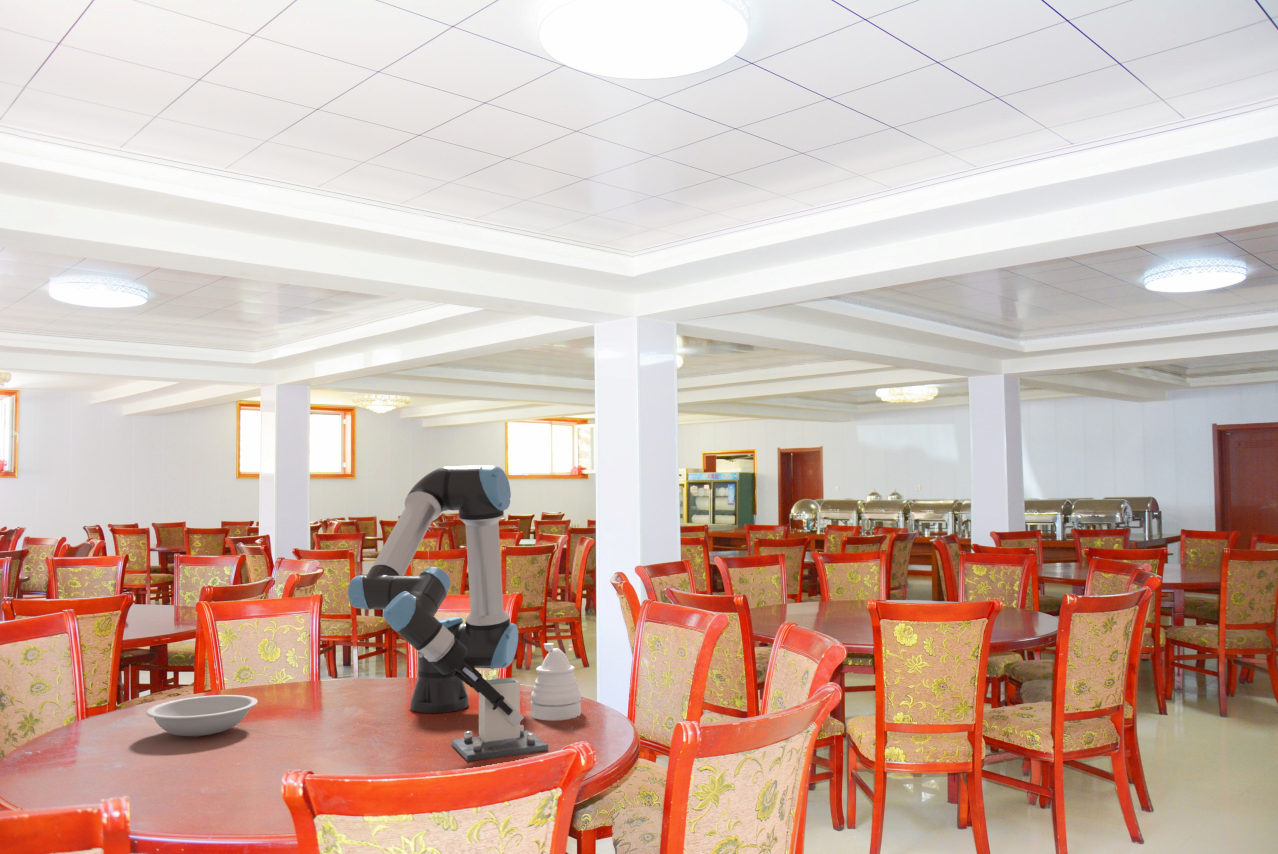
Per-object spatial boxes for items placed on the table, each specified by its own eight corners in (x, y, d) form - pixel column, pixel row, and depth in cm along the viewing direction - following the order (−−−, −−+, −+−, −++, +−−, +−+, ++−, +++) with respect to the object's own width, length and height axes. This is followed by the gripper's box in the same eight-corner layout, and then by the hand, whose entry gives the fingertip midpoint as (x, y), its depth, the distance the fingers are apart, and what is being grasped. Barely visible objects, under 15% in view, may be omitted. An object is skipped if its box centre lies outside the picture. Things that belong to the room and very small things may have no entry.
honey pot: (541, 722, 220) (541, 648, 221) (523, 712, 231) (523, 641, 233) (589, 716, 226) (588, 644, 227) (569, 706, 237) (569, 638, 238)
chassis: (451, 745, 200) (451, 730, 200) (528, 735, 207) (528, 721, 208) (467, 761, 187) (467, 745, 187) (548, 750, 195) (548, 735, 195)
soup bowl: (278, 726, 218) (279, 699, 219) (193, 752, 196) (194, 721, 197) (210, 717, 228) (211, 691, 229) (121, 740, 207) (122, 711, 207)
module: (478, 736, 198) (478, 680, 199) (513, 732, 201) (513, 676, 202) (484, 741, 194) (484, 684, 195) (519, 737, 197) (520, 680, 198)
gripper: (422, 657, 201) (492, 723, 206) (440, 670, 184) (516, 742, 190) (445, 631, 203) (515, 697, 209) (465, 642, 187) (539, 714, 193)
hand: (515, 718), depth 199 cm, fingers closed on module, 5 cm apart
